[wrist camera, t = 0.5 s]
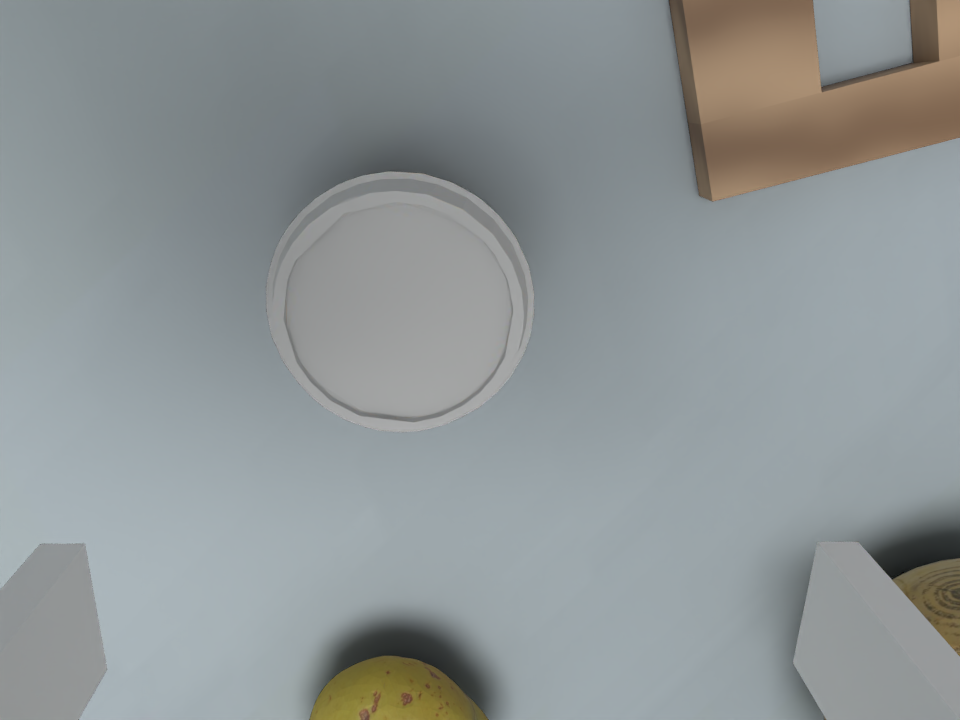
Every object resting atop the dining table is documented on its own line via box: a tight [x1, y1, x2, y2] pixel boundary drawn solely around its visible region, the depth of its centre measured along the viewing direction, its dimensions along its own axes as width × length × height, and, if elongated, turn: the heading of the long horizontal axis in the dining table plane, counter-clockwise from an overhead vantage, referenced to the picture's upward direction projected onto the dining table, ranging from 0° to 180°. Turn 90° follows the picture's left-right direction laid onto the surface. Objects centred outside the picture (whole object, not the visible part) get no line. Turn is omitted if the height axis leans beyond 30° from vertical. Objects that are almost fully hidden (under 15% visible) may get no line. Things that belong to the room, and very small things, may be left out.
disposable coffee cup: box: [266, 171, 534, 432], centre depth 32 cm, size 10×10×12 cm
